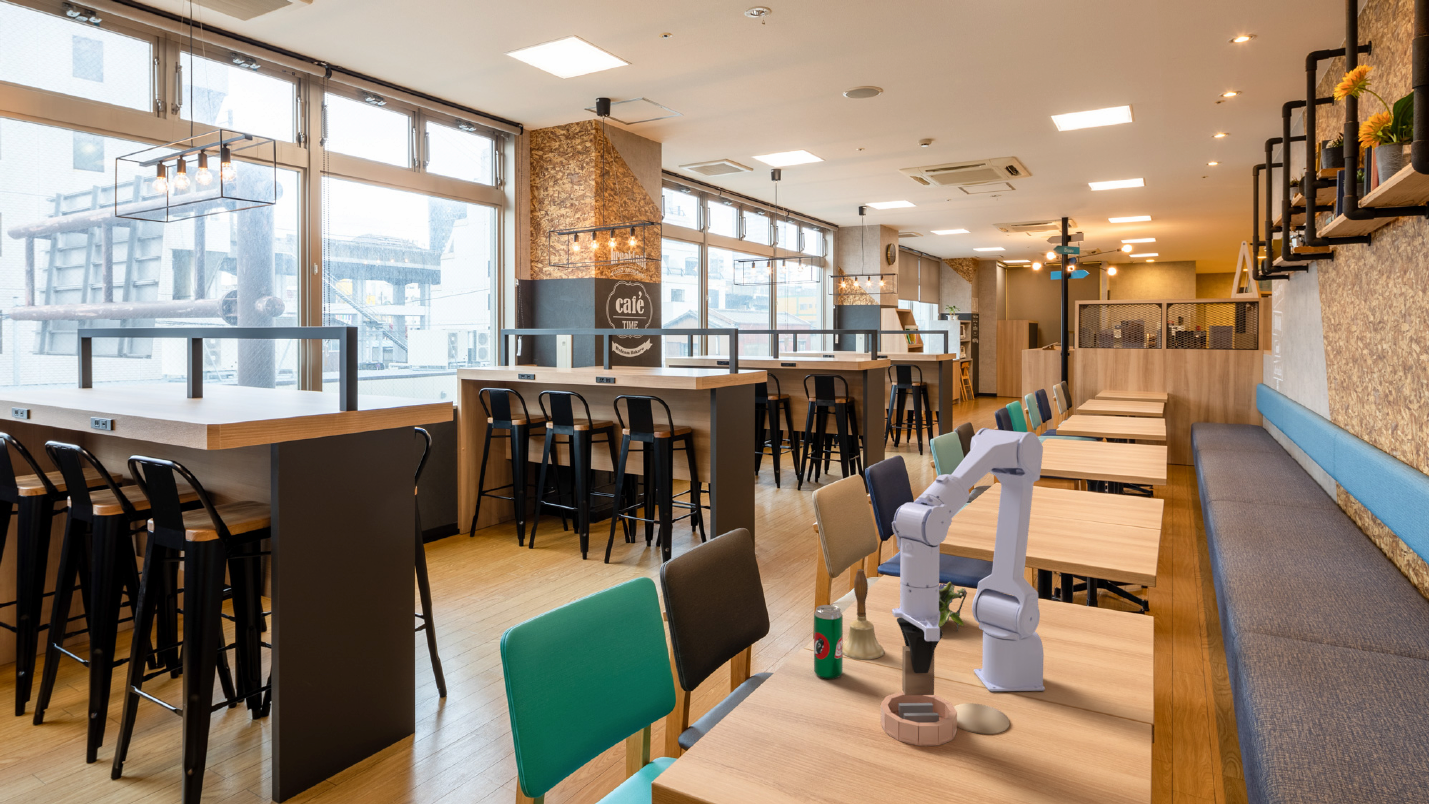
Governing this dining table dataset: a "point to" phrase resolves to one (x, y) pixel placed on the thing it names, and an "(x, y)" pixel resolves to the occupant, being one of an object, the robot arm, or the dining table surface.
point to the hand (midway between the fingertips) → (918, 668)
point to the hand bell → (861, 627)
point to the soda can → (828, 642)
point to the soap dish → (919, 719)
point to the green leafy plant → (945, 599)
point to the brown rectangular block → (916, 677)
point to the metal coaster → (981, 718)
